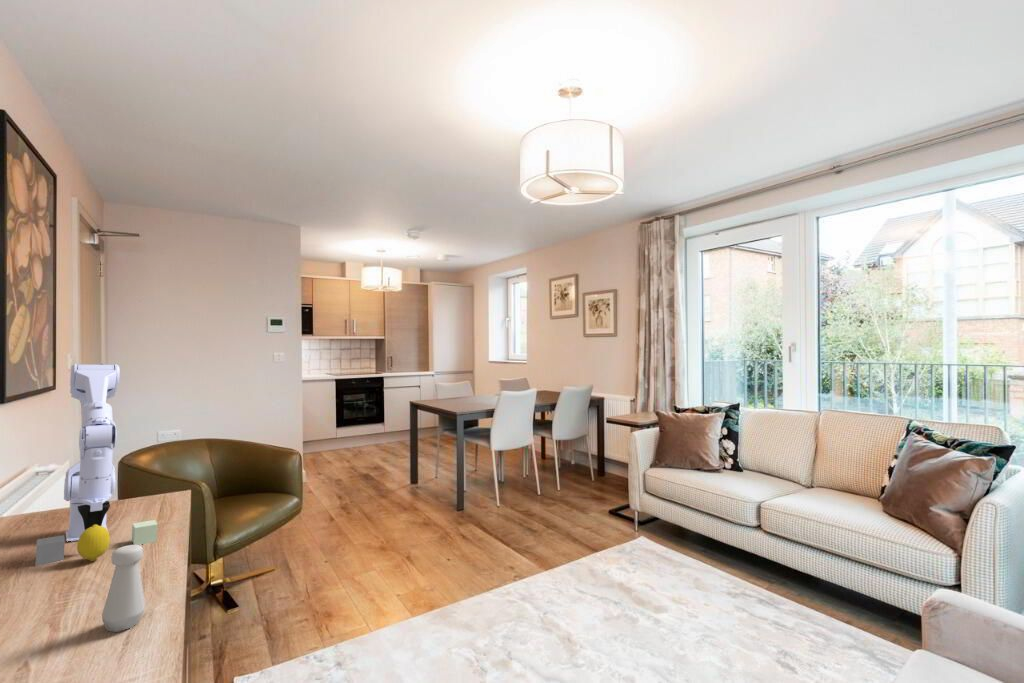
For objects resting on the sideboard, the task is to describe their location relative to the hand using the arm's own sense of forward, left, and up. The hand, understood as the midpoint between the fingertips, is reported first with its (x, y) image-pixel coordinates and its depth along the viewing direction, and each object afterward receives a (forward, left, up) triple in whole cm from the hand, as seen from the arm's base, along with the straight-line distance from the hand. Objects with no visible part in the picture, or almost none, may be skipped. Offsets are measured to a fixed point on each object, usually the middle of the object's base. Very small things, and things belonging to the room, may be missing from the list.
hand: (92, 535), depth 113 cm
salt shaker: (+44, +2, -4) cm, 44 cm away
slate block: (-1, -7, -4) cm, 8 cm away
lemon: (+6, 0, -4) cm, 7 cm away
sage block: (-1, +10, -4) cm, 11 cm away
